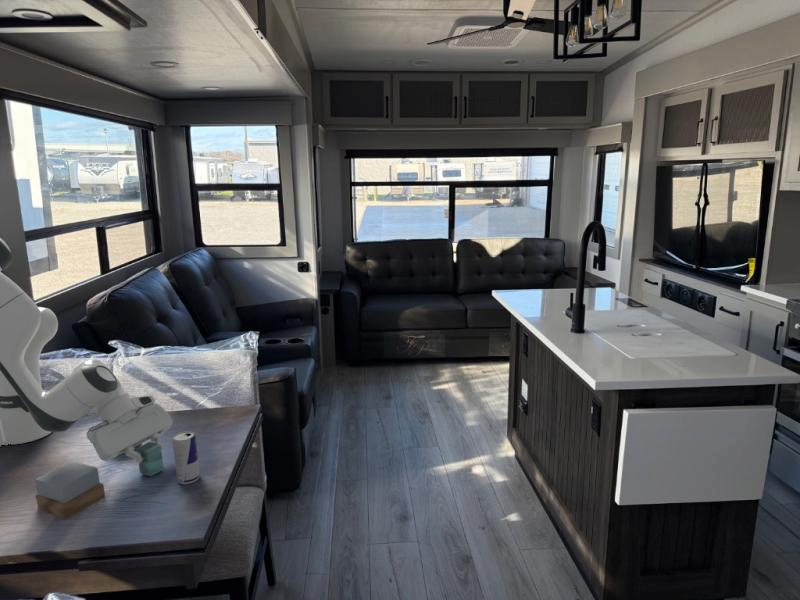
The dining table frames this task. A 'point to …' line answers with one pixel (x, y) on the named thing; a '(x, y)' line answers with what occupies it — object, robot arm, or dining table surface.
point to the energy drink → (186, 457)
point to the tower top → (67, 481)
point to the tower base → (71, 502)
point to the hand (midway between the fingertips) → (151, 456)
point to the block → (150, 459)
